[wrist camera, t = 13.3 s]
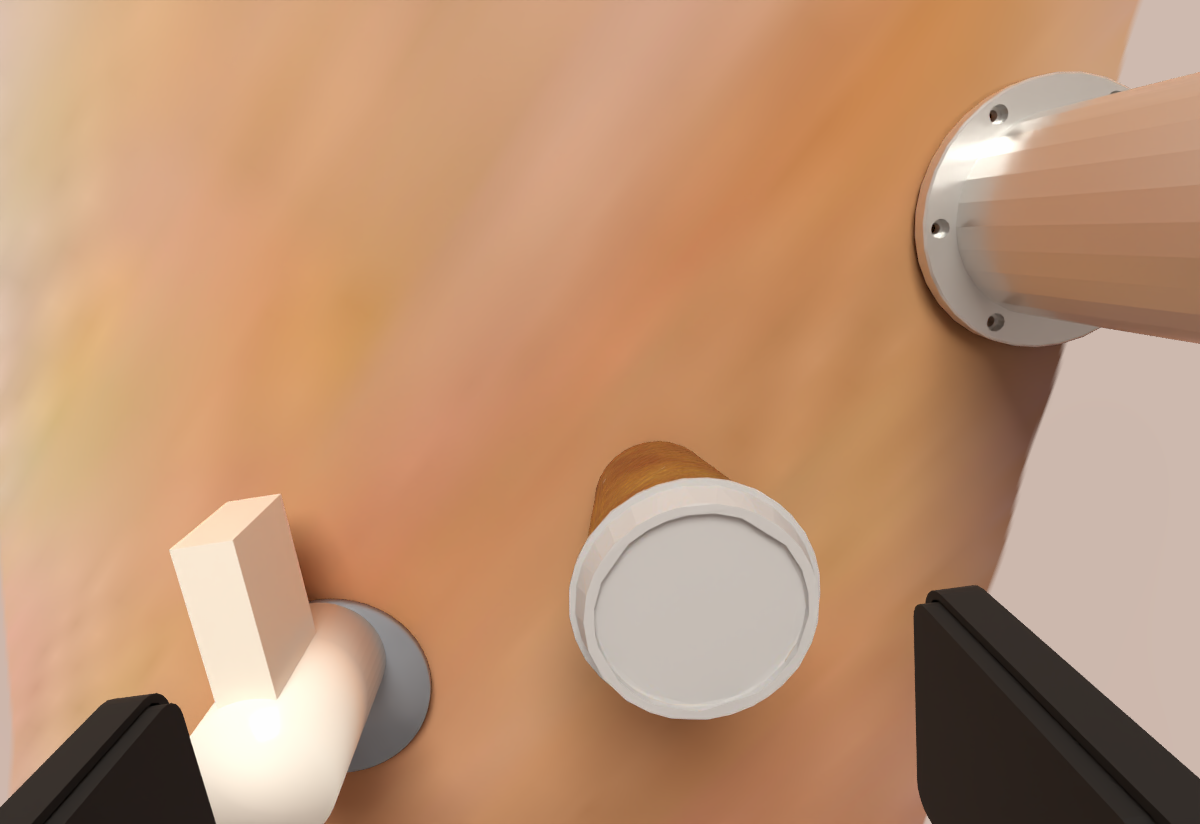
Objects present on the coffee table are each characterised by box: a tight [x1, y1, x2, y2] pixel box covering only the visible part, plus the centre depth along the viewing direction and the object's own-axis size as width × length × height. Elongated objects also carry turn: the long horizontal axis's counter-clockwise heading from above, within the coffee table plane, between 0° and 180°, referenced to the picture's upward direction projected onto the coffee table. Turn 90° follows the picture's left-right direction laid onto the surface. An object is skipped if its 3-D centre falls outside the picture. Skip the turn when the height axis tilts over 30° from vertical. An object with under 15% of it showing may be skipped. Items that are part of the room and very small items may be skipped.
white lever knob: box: [169, 494, 386, 824], centre depth 33 cm, size 13×6×9 cm, turn 8°
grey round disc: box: [309, 599, 431, 772], centre depth 39 cm, size 10×10×1 cm
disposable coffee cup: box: [569, 441, 820, 720], centre depth 32 cm, size 10×10×12 cm
